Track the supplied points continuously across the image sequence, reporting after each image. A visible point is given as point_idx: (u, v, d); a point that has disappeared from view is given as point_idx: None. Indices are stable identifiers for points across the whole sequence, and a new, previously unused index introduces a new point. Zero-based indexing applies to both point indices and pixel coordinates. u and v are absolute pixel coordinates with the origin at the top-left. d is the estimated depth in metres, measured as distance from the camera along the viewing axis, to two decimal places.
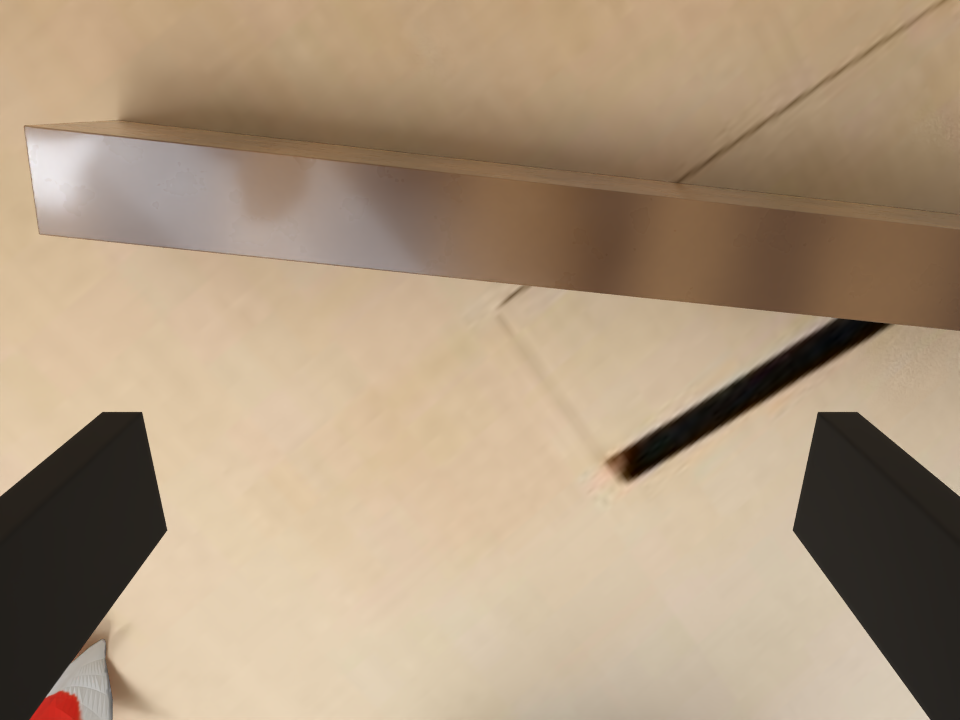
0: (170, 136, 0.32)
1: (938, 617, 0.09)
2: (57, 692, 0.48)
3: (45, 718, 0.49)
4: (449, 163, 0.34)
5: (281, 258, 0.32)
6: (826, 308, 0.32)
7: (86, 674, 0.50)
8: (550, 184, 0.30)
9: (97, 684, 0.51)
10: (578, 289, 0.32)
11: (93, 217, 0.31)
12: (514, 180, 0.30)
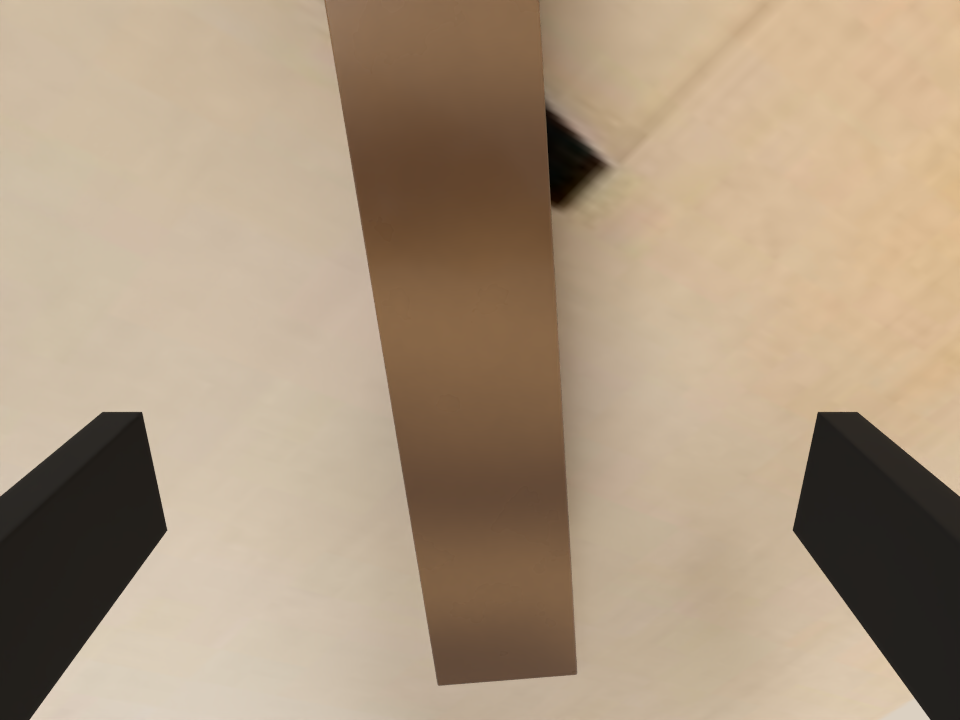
0: None
1: (938, 618, 0.09)
2: None
3: None
4: None
5: None
6: None
7: None
8: None
9: None
10: None
11: None
12: None
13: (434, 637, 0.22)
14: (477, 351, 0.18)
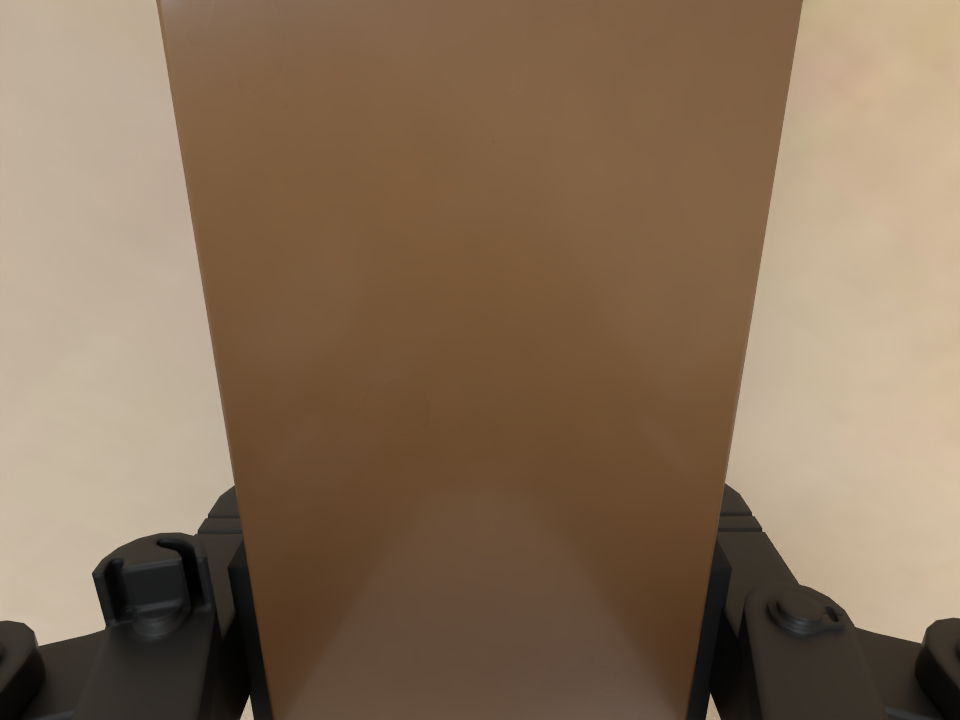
0: None
1: None
2: None
3: None
4: None
5: None
6: None
7: None
8: None
9: None
10: None
11: None
12: None
13: None
14: (503, 248, 0.06)
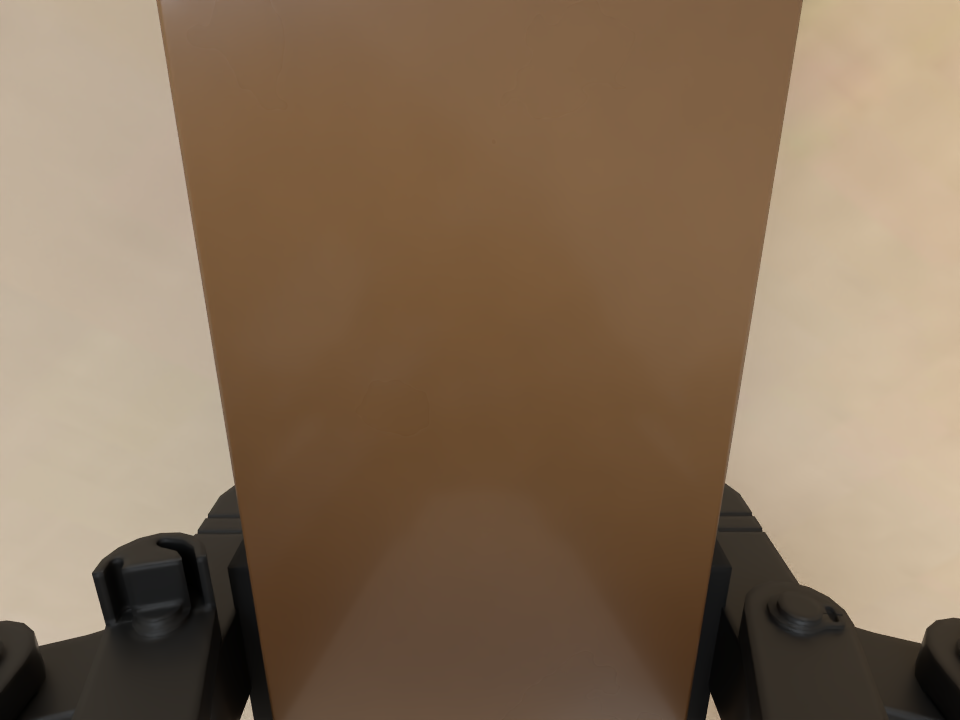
0: None
1: None
2: None
3: None
4: None
5: None
6: None
7: None
8: None
9: None
10: None
11: None
12: None
13: None
14: (503, 248, 0.06)
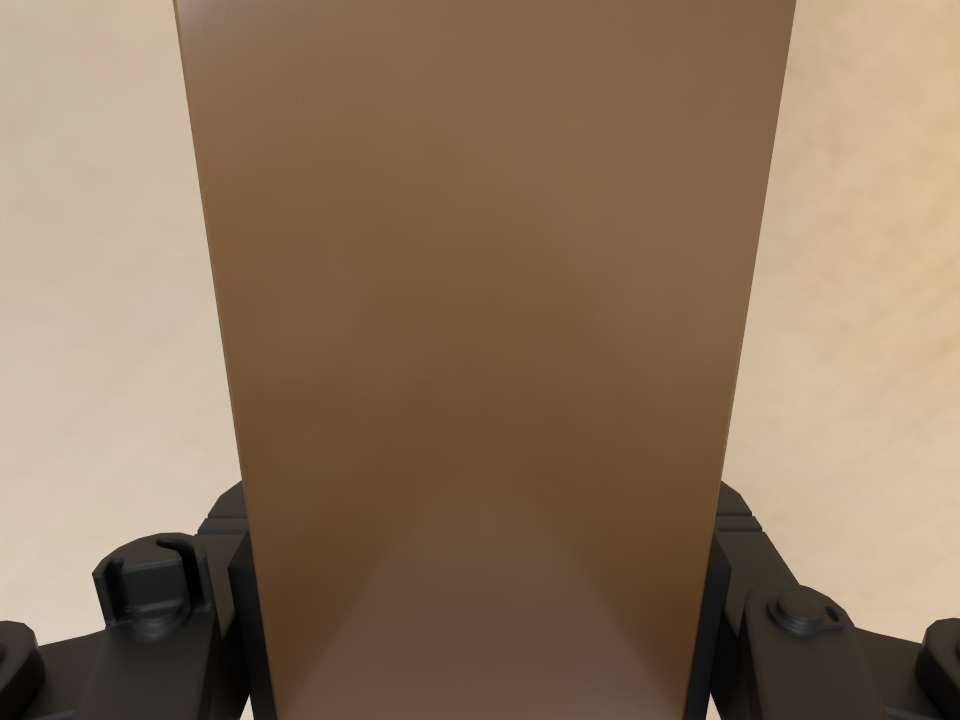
0: None
1: None
2: None
3: None
4: None
5: None
6: None
7: None
8: None
9: None
10: None
11: None
12: None
13: None
14: (506, 241, 0.06)
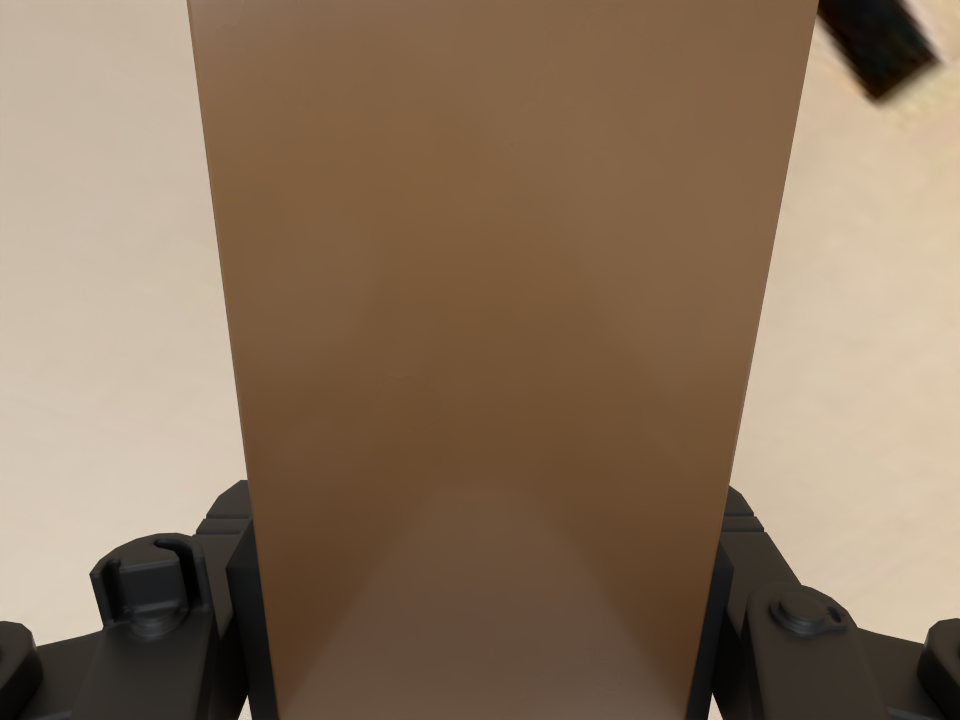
0: None
1: None
2: None
3: None
4: None
5: None
6: None
7: None
8: None
9: None
10: None
11: None
12: None
13: None
14: (517, 249, 0.06)
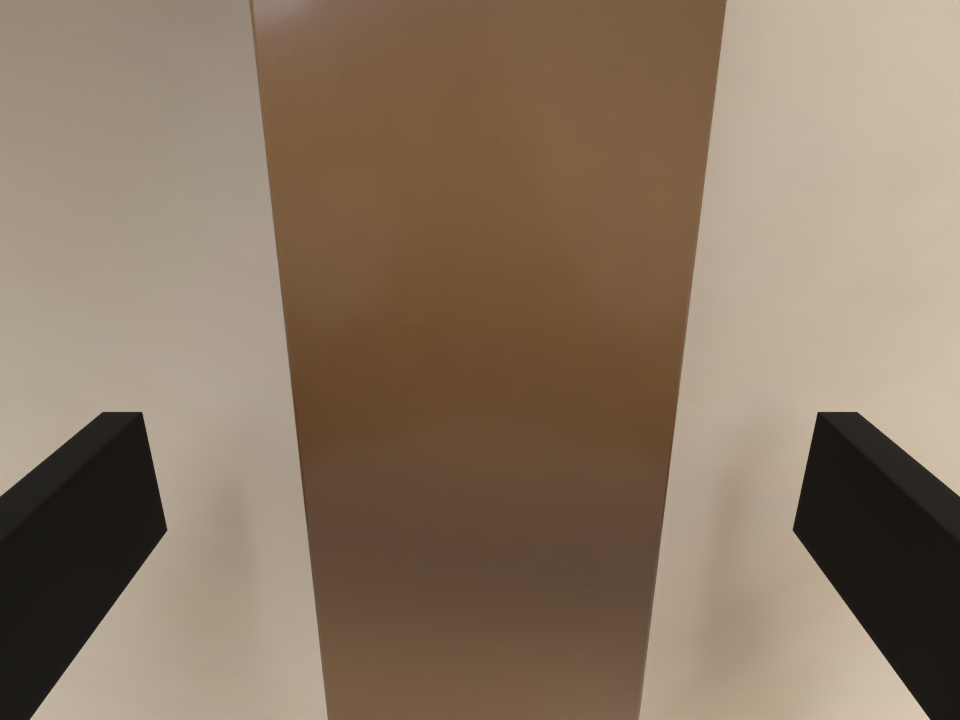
0: None
1: (938, 618, 0.09)
2: None
3: None
4: None
5: None
6: None
7: None
8: None
9: None
10: None
11: None
12: None
13: None
14: (503, 221, 0.07)
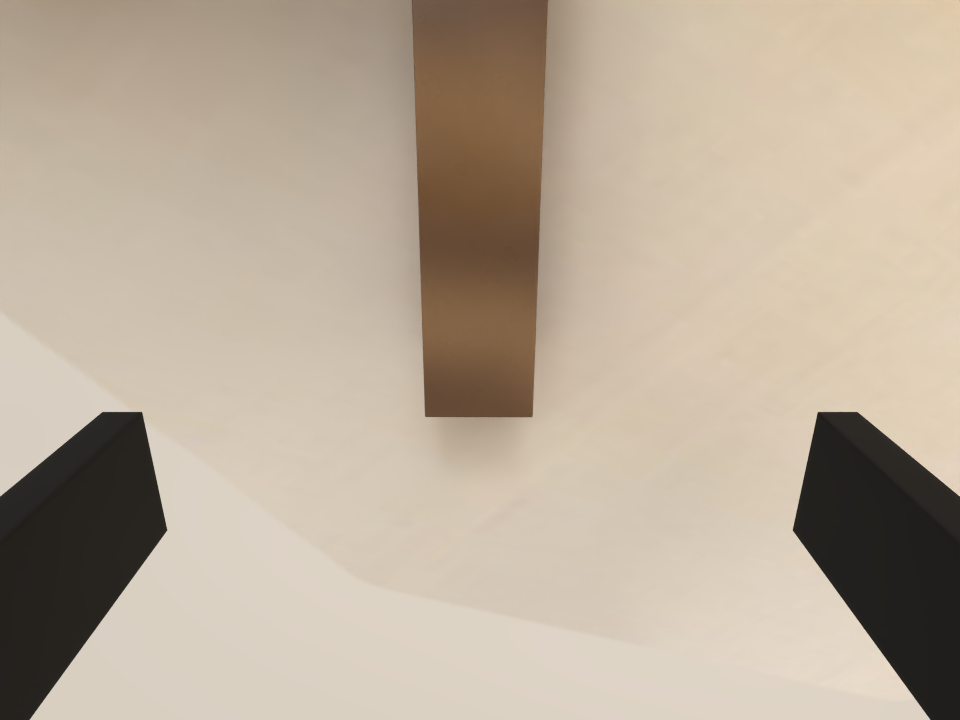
0: None
1: (938, 618, 0.09)
2: None
3: None
4: None
5: None
6: None
7: None
8: None
9: None
10: None
11: None
12: None
13: (427, 372, 0.29)
14: (484, 128, 0.25)
